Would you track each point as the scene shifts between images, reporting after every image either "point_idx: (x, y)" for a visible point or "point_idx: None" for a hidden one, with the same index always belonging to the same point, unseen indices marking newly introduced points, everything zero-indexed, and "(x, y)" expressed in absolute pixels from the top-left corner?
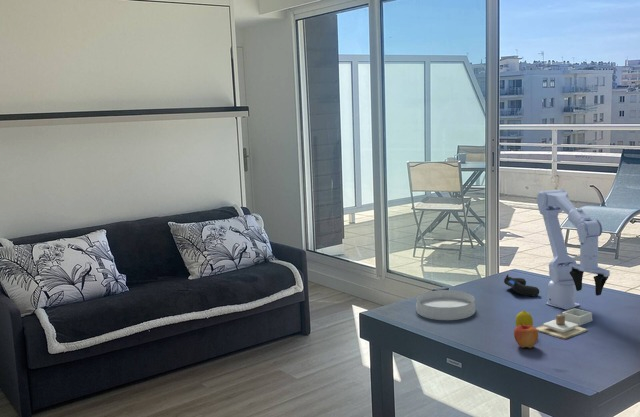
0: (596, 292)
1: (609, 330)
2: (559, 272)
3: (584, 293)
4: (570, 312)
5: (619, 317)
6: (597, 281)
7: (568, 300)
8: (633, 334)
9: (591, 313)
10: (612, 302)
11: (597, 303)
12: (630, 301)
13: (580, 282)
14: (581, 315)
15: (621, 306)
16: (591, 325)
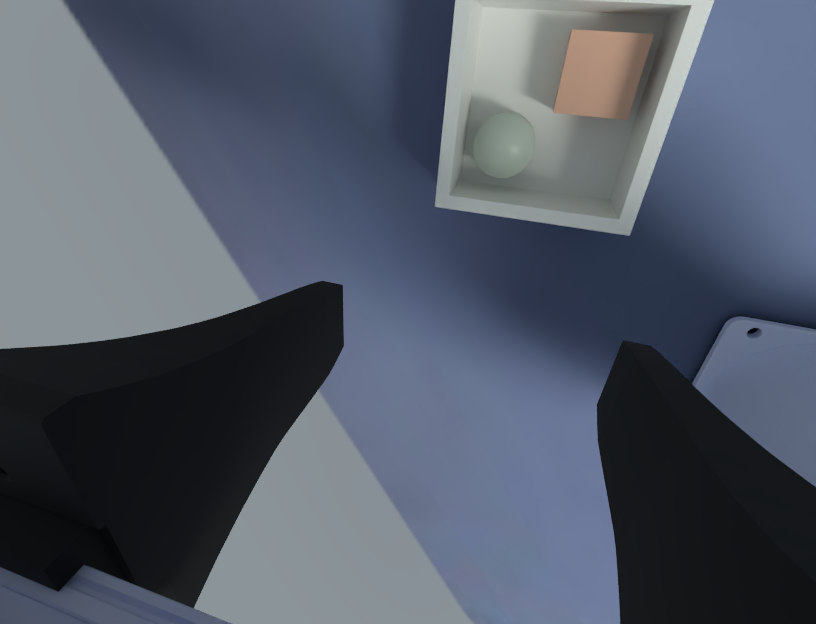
0: (308, 292)
1: (260, 73)
2: None
3: None
4: (640, 141)
5: (362, 349)
6: (108, 351)
7: (759, 401)
8: (142, 114)
9: (437, 196)
10: (508, 535)
11: (571, 504)
12: (446, 562)
13: (625, 486)
14: (519, 153)
15: (444, 499)
16: (403, 83)
